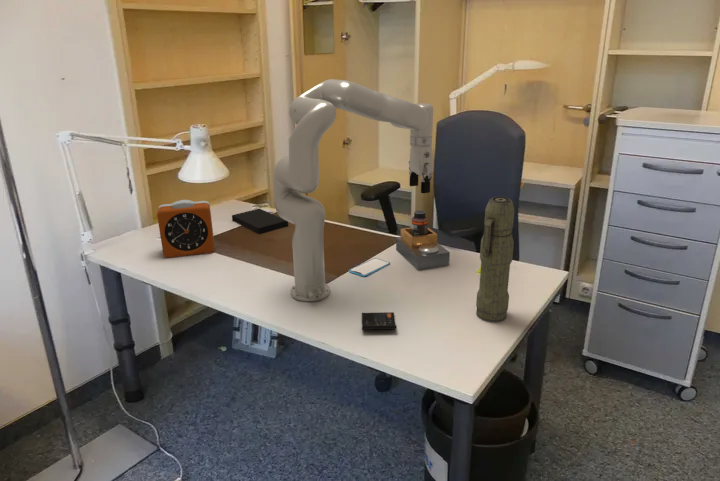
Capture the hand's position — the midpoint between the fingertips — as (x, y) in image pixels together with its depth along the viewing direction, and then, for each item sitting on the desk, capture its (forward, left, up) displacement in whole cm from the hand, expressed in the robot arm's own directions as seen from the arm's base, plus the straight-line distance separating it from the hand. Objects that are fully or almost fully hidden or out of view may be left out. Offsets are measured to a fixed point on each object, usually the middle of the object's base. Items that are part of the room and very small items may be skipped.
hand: (419, 189), depth 192 cm
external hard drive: (+56, +50, -26) cm, 79 cm away
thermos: (-49, -1, -25) cm, 55 cm away
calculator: (-42, +31, -26) cm, 59 cm away
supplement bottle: (0, -1, -20) cm, 20 cm away
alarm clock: (+33, +80, -25) cm, 90 cm away
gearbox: (-3, 0, -25) cm, 25 cm away
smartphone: (-5, +20, -26) cm, 33 cm away
